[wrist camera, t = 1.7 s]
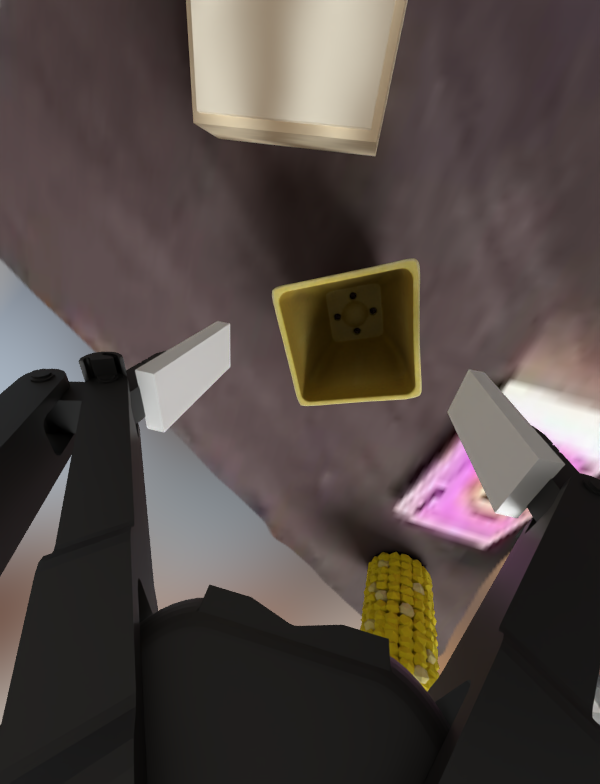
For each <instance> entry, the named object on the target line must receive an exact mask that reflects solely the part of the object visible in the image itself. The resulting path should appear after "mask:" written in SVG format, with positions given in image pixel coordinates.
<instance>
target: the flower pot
mask: <svg viewBox="0 0 600 784" xmlns="http://www.w3.org/2000/svg"><path fill="white" fill-rule="evenodd" d="M351 293H355V294H356V298H355V299H351V298H350V294H351ZM272 299H273V304H274V308H275V312H276V316H277V320H278V324H279V328H280V331H281V335H282V339H283V343H284V348H285V351H286V355H287V359H288V363H289V367H290V371H291V375H292V379H293V384H294V388H295V392H296V396H297V398H298V401H299V403H300V405H302V406H317V405H328V404H341V403H353V402H367V401H385V400H399V399H409V398H414V397H417V396H420V394H421V391H422V387H421V365H420V266H419V263H418V261H417V260H416V259H413V258H410V259H404V260H400V261H396V262H392V263H387V264H383V265H378V266H373V267H369V268H364V269H359V270H354V271H350V272H345V273H340V274H335V275H331V276H326V277H321V278H316V279H311V280H307V281H302V282H297V283H292V284H286V285H282V286H278V287H276V288H274V289H273V291H272ZM371 308H375V309H376V313H374V314H371V313H370V309H371ZM336 314H340V316H341V318H340V319H338V320H337V319H335V315H336ZM355 328H359V329H360V332H359V333H357V334H356V333H355V332H354V329H355Z"/></svg>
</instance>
